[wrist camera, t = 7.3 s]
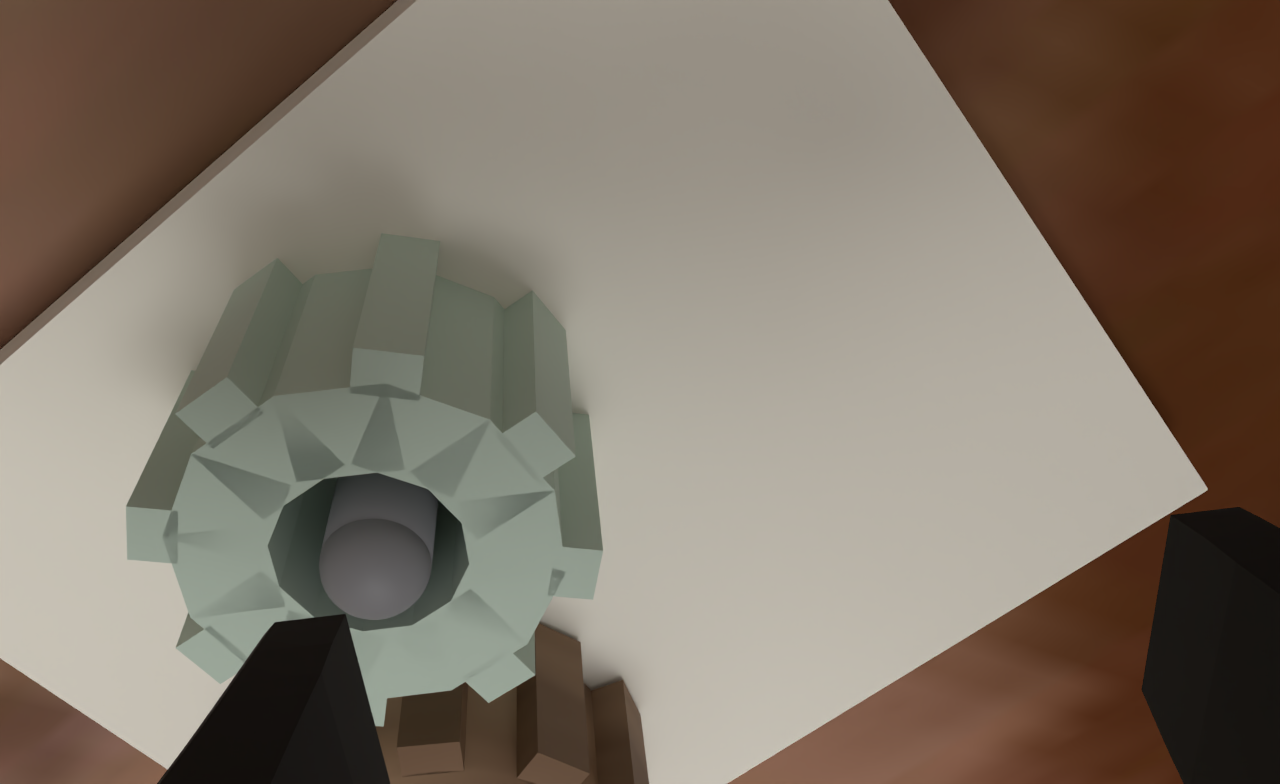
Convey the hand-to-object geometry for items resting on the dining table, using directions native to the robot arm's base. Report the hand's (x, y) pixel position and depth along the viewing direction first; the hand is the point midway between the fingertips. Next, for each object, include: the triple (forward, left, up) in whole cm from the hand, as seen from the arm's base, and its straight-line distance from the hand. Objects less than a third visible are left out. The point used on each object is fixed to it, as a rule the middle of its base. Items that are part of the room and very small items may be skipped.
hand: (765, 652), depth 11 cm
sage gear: (+1, +5, -8) cm, 9 cm away
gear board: (-2, +4, -9) cm, 10 cm away
